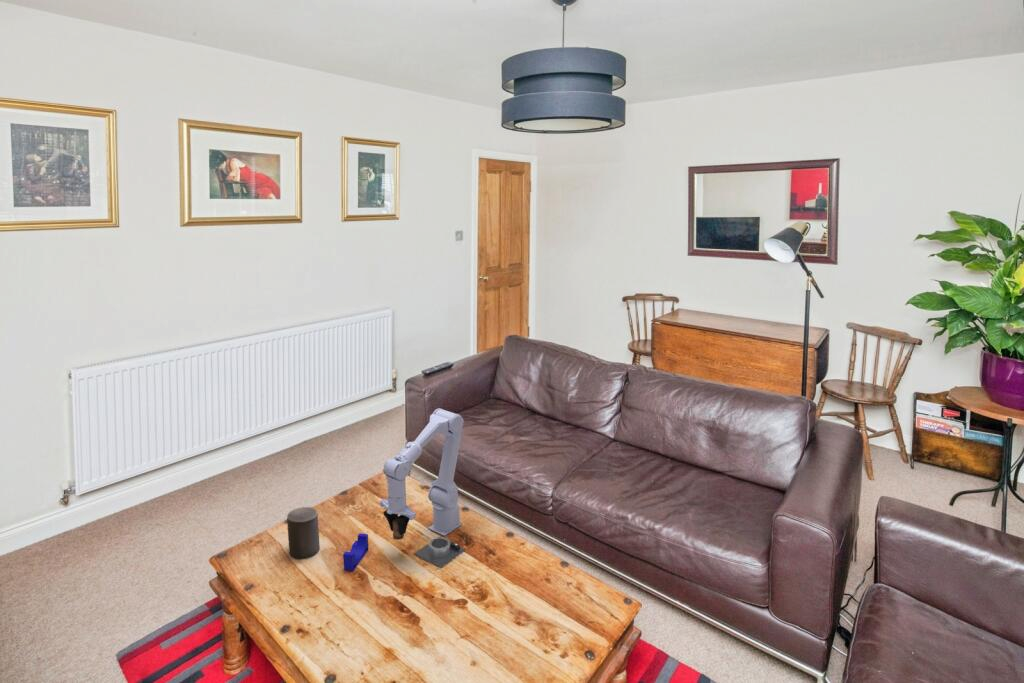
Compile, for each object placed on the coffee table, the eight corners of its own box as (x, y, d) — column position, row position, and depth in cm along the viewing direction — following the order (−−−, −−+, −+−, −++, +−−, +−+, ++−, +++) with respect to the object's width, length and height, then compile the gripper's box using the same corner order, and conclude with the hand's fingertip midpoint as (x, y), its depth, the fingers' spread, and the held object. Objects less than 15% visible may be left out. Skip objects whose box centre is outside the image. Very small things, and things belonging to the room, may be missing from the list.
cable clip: (356, 548, 200) (355, 532, 198) (368, 549, 199) (367, 534, 197) (339, 570, 188) (338, 553, 187) (353, 571, 187) (352, 555, 186)
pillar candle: (291, 562, 191) (288, 521, 188) (287, 546, 200) (284, 506, 196) (322, 554, 196) (320, 514, 192) (317, 539, 204) (314, 500, 200)
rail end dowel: (398, 532, 197) (398, 516, 195) (406, 536, 195) (405, 519, 193) (390, 537, 194) (390, 521, 192) (398, 540, 192) (397, 524, 190)
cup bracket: (438, 538, 206) (438, 529, 205) (464, 550, 199) (464, 541, 198) (414, 554, 196) (413, 545, 195) (441, 568, 190) (440, 558, 189)
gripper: (372, 492, 191) (373, 529, 195) (404, 506, 183) (405, 545, 187) (388, 484, 197) (389, 520, 200) (419, 497, 189) (420, 534, 192)
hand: (398, 531), depth 194 cm, fingers closed on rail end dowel, 3 cm apart
